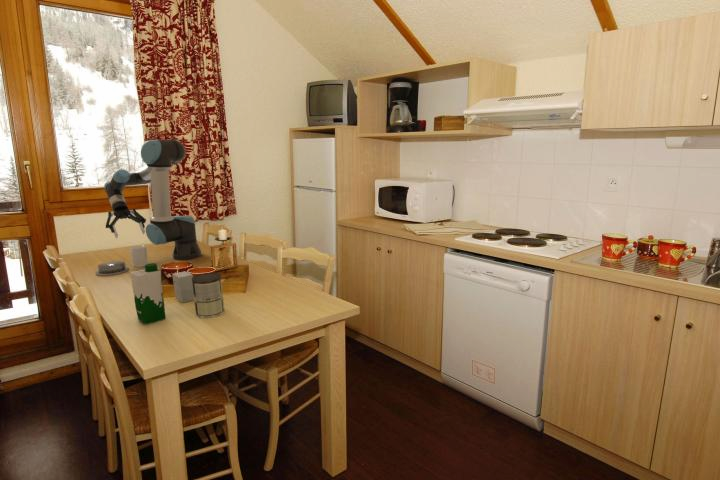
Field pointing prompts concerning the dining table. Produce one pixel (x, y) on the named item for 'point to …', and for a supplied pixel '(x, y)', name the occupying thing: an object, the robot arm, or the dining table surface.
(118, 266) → the grey round shallow piece
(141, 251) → the white cup
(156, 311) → the milk carton
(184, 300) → the small box
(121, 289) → the dining table surface
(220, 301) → the coffee can
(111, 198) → the robot arm
